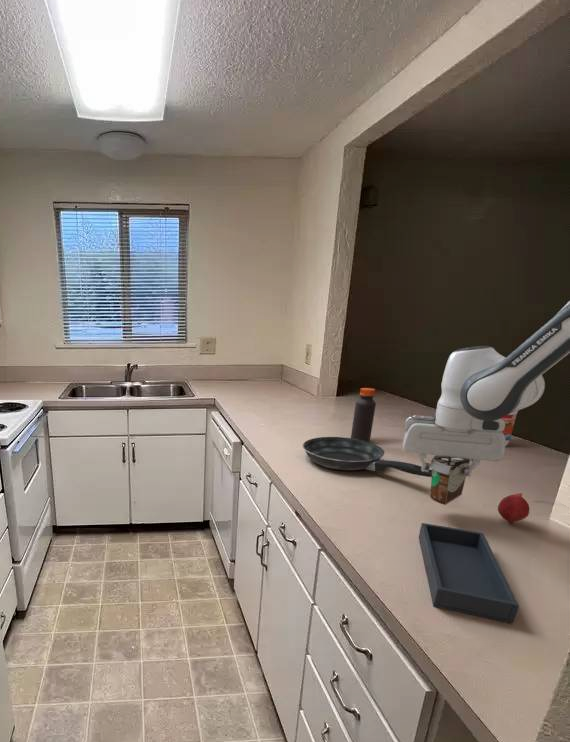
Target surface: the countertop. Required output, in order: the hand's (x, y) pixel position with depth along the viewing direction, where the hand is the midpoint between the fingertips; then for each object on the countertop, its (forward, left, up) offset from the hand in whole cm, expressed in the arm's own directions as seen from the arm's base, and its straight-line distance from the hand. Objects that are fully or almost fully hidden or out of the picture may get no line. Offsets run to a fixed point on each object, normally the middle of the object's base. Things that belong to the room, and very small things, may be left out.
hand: (445, 473), depth 105 cm
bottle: (+18, -57, -11) cm, 61 cm away
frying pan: (+18, -27, -11) cm, 35 cm away
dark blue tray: (-1, +27, -11) cm, 29 cm away
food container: (0, 0, -6) cm, 6 cm away
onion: (-16, -2, -12) cm, 19 cm away
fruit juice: (-27, -72, -11) cm, 78 cm away
